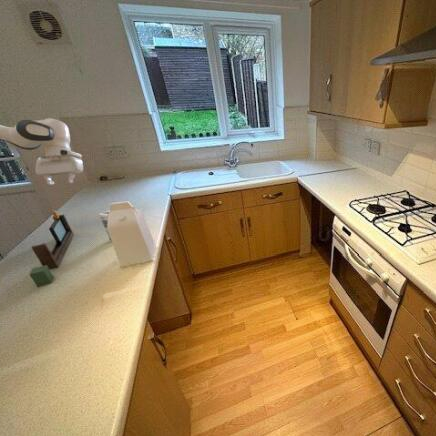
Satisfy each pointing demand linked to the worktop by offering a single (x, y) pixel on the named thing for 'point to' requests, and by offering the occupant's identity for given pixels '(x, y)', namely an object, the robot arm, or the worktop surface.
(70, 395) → the worktop surface
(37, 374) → the worktop surface
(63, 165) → the robot arm
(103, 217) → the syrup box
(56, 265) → the window frame
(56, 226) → the window pane
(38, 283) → the block
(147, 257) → the milk
